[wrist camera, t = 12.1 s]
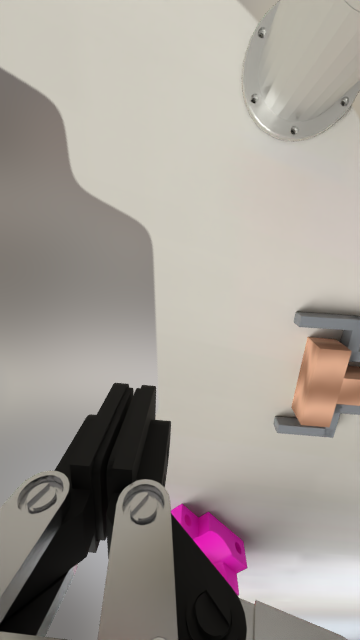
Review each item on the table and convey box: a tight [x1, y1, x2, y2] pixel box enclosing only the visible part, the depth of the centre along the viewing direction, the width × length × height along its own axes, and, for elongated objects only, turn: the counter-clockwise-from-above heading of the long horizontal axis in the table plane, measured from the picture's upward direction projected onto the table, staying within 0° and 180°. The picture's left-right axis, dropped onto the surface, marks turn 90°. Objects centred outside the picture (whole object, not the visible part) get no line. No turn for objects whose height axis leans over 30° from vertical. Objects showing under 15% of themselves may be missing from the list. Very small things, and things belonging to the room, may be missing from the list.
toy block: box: [171, 504, 247, 595], centre depth 48 cm, size 15×6×8 cm, turn 43°
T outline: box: [274, 312, 360, 438], centre depth 38 cm, size 19×16×2 cm
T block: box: [292, 337, 360, 427], centre depth 37 cm, size 12×12×4 cm
